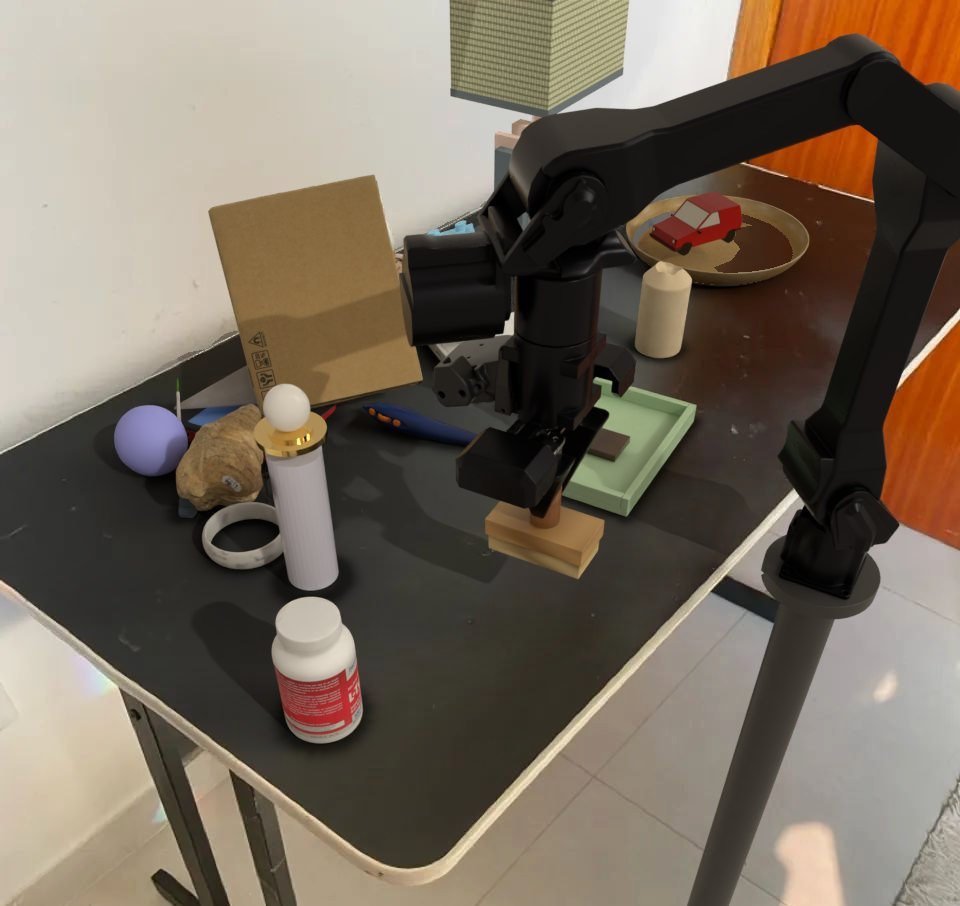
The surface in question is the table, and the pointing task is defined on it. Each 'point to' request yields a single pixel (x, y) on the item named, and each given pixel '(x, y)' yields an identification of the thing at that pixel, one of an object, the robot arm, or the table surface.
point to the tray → (631, 447)
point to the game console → (202, 416)
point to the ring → (233, 515)
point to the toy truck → (699, 223)
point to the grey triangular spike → (224, 393)
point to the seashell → (223, 462)
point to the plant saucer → (717, 244)
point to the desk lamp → (533, 58)
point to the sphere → (150, 440)
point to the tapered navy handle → (417, 423)
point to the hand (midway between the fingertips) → (545, 506)
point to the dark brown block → (609, 444)
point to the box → (316, 292)
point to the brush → (546, 536)
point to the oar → (184, 504)
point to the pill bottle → (316, 671)
